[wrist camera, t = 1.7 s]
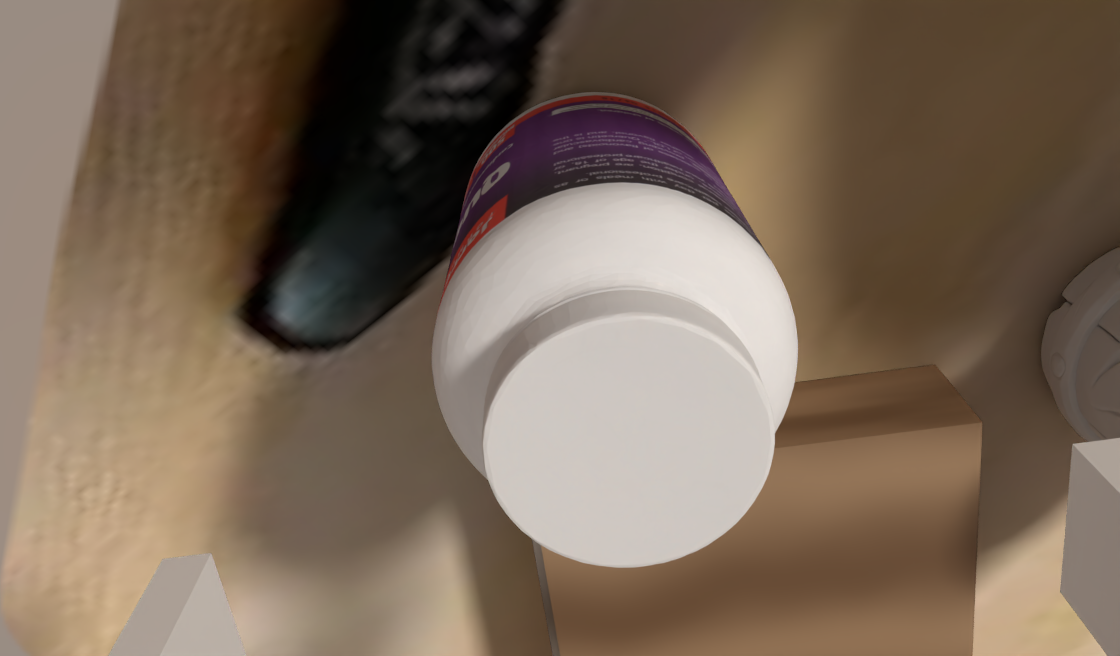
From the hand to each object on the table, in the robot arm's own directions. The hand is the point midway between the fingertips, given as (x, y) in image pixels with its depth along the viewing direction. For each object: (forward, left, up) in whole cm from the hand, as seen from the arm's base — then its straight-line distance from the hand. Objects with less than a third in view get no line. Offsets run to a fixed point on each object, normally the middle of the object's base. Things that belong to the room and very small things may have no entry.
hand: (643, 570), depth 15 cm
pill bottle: (0, 0, -18) cm, 18 cm away
